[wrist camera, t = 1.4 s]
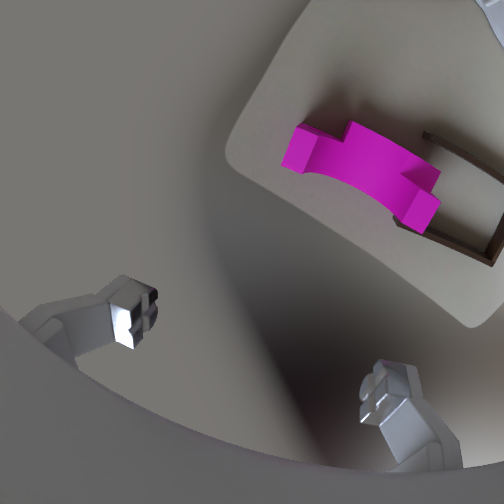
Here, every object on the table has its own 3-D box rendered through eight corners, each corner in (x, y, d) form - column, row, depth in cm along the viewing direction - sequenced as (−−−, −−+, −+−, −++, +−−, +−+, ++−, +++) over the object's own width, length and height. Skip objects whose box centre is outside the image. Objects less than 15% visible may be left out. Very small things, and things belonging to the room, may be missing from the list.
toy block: (426, 162, 26) (452, 179, 20) (403, 207, 30) (422, 234, 23) (309, 102, 27) (306, 100, 20) (289, 152, 30) (280, 165, 24)
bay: (424, 130, 25) (431, 133, 23) (517, 188, 23) (527, 194, 21) (392, 217, 31) (396, 226, 29) (485, 258, 29) (492, 267, 27)
